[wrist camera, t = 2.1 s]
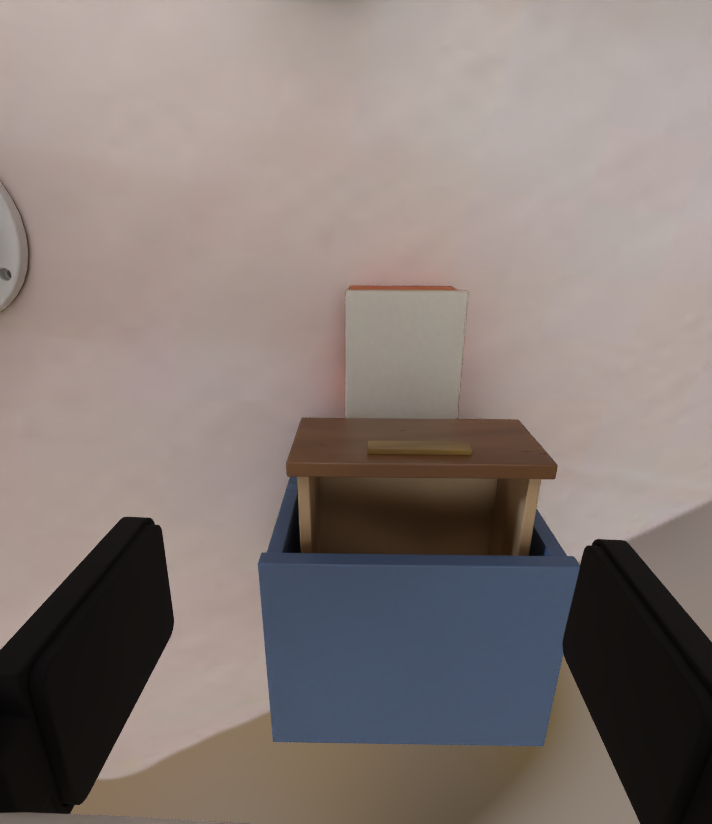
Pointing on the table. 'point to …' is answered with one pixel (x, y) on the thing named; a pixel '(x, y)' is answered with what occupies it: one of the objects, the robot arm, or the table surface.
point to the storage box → (404, 351)
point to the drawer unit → (412, 641)
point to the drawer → (417, 485)
